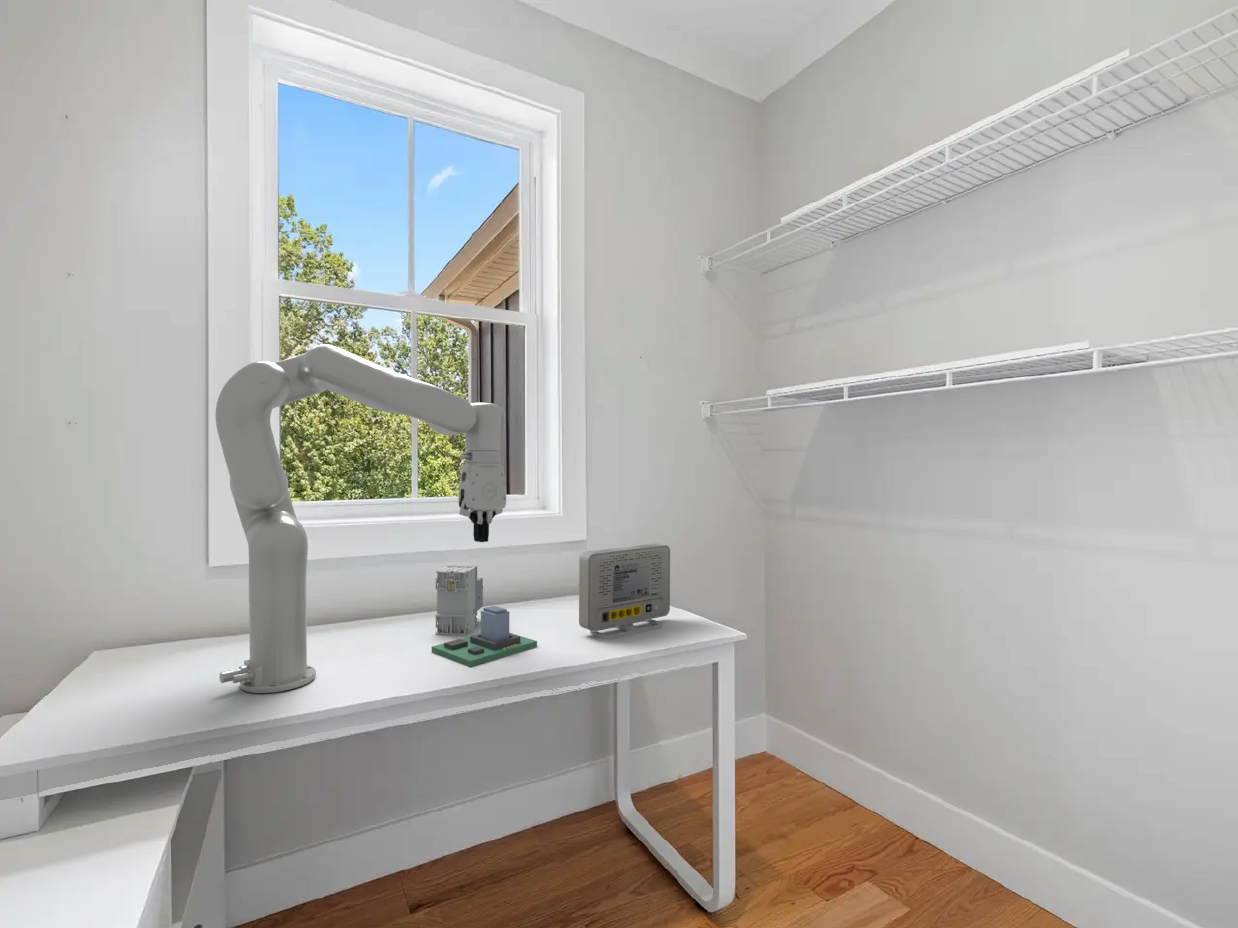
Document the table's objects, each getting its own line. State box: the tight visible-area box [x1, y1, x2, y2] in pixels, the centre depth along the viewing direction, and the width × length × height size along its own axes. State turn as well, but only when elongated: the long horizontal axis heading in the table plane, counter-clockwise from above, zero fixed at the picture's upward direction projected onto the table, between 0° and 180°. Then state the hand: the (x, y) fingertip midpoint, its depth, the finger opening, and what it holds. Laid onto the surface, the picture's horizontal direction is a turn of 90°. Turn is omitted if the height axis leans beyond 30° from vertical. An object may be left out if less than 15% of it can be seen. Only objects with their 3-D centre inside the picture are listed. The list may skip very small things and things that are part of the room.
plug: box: [480, 605, 510, 642], centre depth 140 cm, size 4×5×8 cm
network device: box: [578, 543, 671, 640], centre depth 156 cm, size 26×9×20 cm, turn 128°
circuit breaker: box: [435, 565, 484, 636], centre depth 157 cm, size 8×14×15 cm, turn 174°
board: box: [431, 632, 538, 668], centre depth 140 cm, size 18×14×3 cm
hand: (481, 541), depth 141 cm, fingers closed
